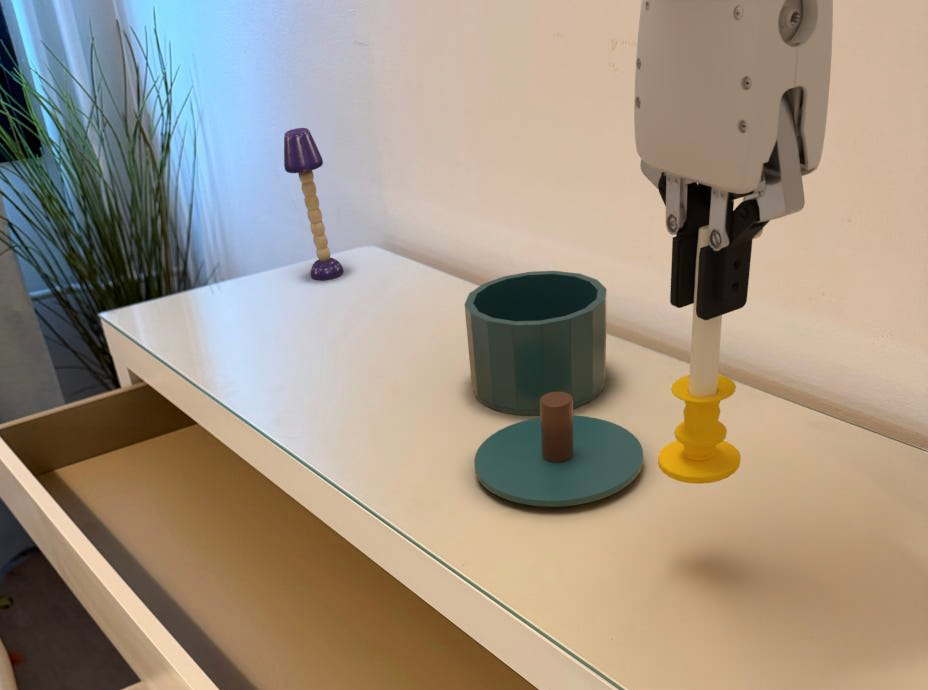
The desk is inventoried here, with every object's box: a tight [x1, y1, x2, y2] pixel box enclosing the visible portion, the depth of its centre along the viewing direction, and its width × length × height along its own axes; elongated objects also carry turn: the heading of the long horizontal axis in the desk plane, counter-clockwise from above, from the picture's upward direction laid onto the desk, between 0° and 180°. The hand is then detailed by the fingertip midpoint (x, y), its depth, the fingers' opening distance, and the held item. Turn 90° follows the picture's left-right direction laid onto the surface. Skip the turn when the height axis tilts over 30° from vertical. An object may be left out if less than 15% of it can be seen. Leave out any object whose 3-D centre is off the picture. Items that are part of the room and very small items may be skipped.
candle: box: [657, 225, 742, 485], centre depth 56 cm, size 5×5×16 cm
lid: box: [473, 392, 644, 508], centre depth 75 cm, size 14×14×6 cm
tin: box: [464, 270, 608, 416], centre depth 86 cm, size 13×13×8 cm
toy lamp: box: [283, 127, 344, 281], centre depth 114 cm, size 5×5×17 cm
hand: (707, 304), depth 54 cm, fingers closed on candle
